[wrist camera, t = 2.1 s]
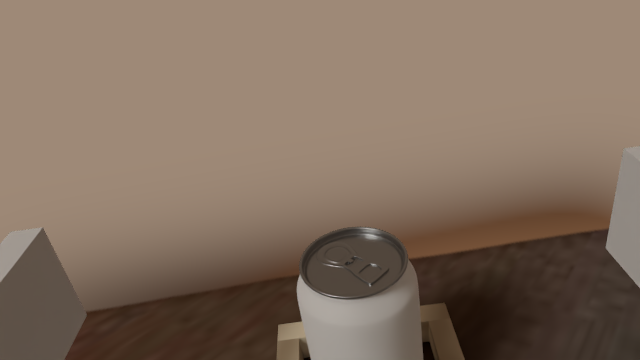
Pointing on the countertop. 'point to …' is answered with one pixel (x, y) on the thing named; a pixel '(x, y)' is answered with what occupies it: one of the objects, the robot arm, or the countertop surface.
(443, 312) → the holder
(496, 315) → the countertop surface
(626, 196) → the robot arm
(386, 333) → the can
